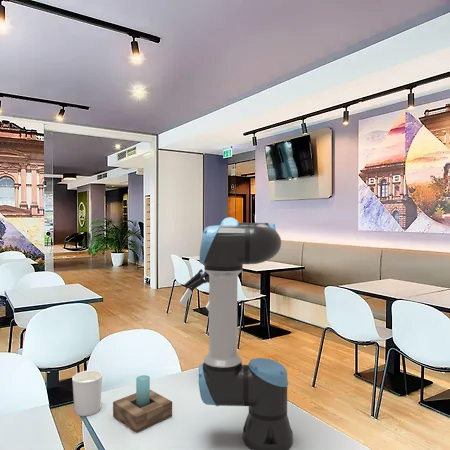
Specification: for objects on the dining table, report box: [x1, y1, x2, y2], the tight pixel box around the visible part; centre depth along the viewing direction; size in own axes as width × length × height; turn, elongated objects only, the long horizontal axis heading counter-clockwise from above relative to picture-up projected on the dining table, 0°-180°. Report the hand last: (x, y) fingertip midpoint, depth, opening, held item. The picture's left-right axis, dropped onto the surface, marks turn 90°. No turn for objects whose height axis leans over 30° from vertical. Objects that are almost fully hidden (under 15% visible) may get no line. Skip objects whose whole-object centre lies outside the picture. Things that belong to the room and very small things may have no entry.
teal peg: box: [135, 375, 151, 408], centre depth 130 cm, size 4×4×12 cm
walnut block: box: [112, 389, 173, 434], centre depth 130 cm, size 14×14×5 cm
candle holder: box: [71, 370, 103, 417], centre depth 134 cm, size 10×10×12 cm
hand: (194, 306), depth 148 cm, fingers open, 13 cm apart
